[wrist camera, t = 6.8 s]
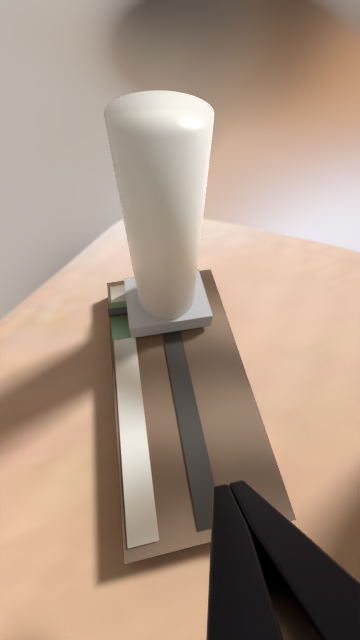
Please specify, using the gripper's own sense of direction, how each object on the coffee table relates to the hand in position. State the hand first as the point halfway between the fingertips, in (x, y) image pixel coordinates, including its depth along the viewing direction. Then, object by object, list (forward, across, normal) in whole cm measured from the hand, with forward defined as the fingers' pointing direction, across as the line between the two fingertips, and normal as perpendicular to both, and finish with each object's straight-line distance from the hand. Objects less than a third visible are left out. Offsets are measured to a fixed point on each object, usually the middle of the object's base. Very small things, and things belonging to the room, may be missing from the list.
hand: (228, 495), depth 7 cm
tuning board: (+10, 0, +2) cm, 10 cm away
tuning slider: (+12, 0, -3) cm, 13 cm away
